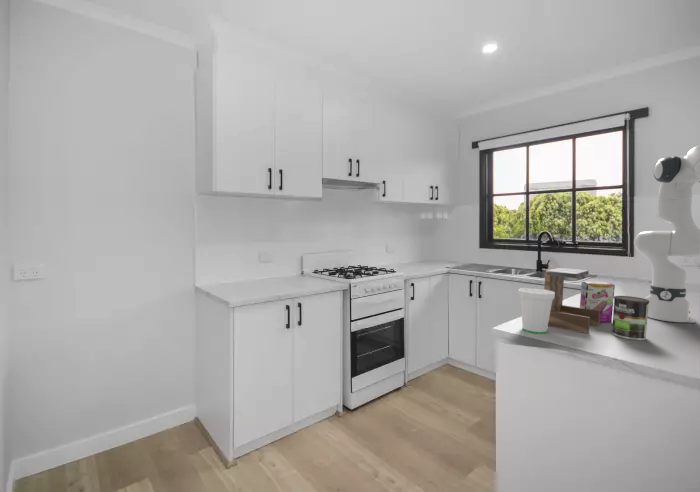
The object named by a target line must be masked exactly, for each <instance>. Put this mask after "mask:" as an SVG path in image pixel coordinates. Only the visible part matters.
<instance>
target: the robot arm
mask: <svg viewBox="0 0 700 492" xmlns="http://www.w3.org/2000/svg"><path fill="white" fill-rule="evenodd" d="M653 177H654V179H655V180H656V181H657V182H659V183H660V184H659V189H658V195H657V208H656V216H657V218H658V219H659V220H661V221H662V222H663V223H667V224H669V225H672V226H673V227H674V230H646V231H641V232H639V233H637V235H636V236H635V237H634V240H633V245H634V248H635V250H636V251H637V252H638V253H640V254H641V255H643V256H644V257H645V259H647V261H648V262H649V264H650V267H651V285H650V287H649V295H646V296H645V298H644V299H647V300H649V306H648V318H650V319H654V320H660V321H664V322H665V321H666V322H675V323H694V324H695V322H696V321H695V319H694V318H693V317H692V315H690V314H691V311H690V302H689V301H688V299H686V295H687V289H686V275H687V272H686V270H685V269H684V268H683V267H682V266H680V265H679V264H676V263H674V262H671V261H670V260H669V259H668V257H689V258H692V257H700V228H699V227H698V226H697V224H696V223H695V222H694V219H693V216H692V215H693V214H692V203H693V202H692V201H693V200H692V198H693V186H694V185H695V184H696V183H698V182H699V183H700V144H699V145H696V146H694V147H693V148H691V149H690V150H689V151H688V152H687V154H684V155H676V156H675V155H674V156H666V157H663V158H660V159H659V160H658V161H657V162H656V163H655V165H654V168H653ZM696 267H697V268H698V269H699V270H700V262H699V263H698V264H697V266H696Z"/></svg>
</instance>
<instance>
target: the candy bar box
mask: <svg viewBox="0 0 700 492" xmlns="http://www.w3.org/2000/svg"><path fill="white" fill-rule="evenodd" d="M580 286H581V288H580V299H579V300H580V301H579V308H585V309H592V310H598V311H600V321H599V323H613V310H614V296H615V284H613V283H609V282H599V281H598V282H597V281H596V282H595V281H581V285H580Z"/></svg>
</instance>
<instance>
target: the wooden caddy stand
mask: <svg viewBox="0 0 700 492" xmlns="http://www.w3.org/2000/svg"><path fill="white" fill-rule="evenodd" d="M589 273H590V272H589V270H586V269H576V268H565V267H557V268H553V269H548V270H545V272H544V286H543V287H544V290H549V291H553V292H555V298H554V299H553V300H552V305H551V311H550V316H549V322H548V327H549V326H550V327H554V328H559V329H562V330H569V331H573V332H580V333H583V334H584V333H585V334H589V333H590V326H597V327H598V326H600V322H599V321H600V311H598V310H592V309H585V308H580V306H579V307H578V306H573V305H572V306H571V305H564V304H563V300H564V283H565V282H564V281H565V278H570V279H577V278H581V277H584V276H587V275H589Z"/></svg>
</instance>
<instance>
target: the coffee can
mask: <svg viewBox="0 0 700 492" xmlns="http://www.w3.org/2000/svg"><path fill="white" fill-rule="evenodd" d="M648 306H649V300H647V299H645V298H642V297H637V296H630V295H629V296H628V295H614V300H613V311H612V326H611V327H612V328H611V334H612V335H613V336H615V337H618V338H622V339H626V340H632V341H645V340H646V339H647V331H648V330H647V329H648V318H649V317H648Z"/></svg>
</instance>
